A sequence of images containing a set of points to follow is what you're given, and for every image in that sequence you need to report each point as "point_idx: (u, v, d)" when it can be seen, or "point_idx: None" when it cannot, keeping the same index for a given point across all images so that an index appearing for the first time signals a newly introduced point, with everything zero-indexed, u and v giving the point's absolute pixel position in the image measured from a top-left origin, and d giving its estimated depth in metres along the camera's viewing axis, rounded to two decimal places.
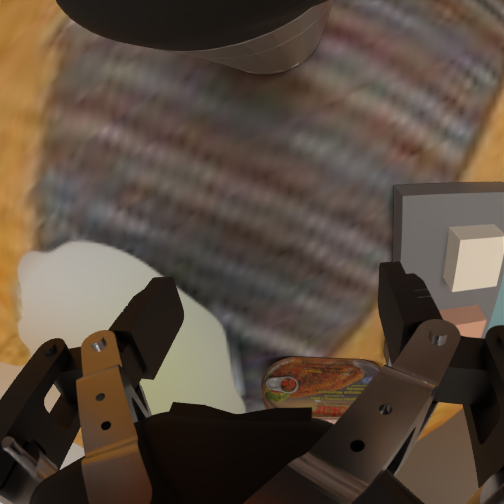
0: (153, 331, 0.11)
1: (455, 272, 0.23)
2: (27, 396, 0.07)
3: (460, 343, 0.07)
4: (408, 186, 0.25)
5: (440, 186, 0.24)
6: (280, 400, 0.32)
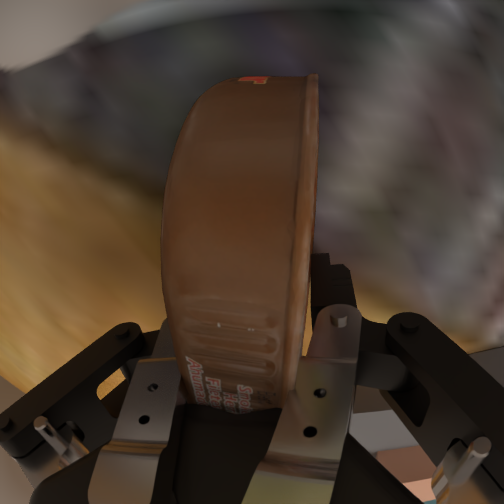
0: None
1: None
2: (78, 381, 0.07)
3: (367, 328, 0.08)
4: None
5: None
6: None
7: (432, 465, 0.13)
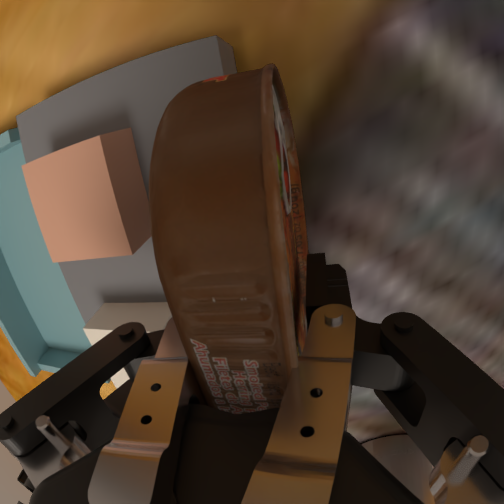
0: None
1: None
2: (81, 380, 0.07)
3: (361, 328, 0.08)
4: None
5: None
6: None
7: (130, 208, 0.13)
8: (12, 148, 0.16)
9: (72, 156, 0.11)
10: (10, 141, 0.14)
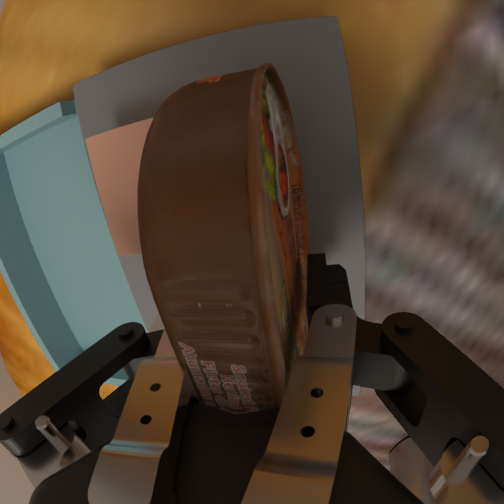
0: None
1: None
2: (81, 380, 0.07)
3: (362, 328, 0.08)
4: None
5: None
6: None
7: None
8: (55, 127, 0.15)
9: None
10: (62, 115, 0.13)
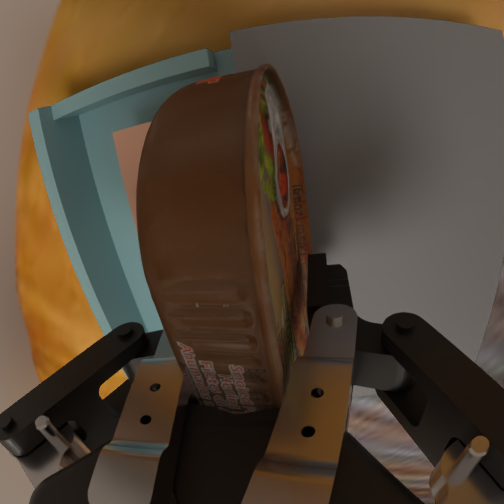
0: None
1: None
2: (80, 380, 0.07)
3: (363, 328, 0.08)
4: None
5: None
6: (258, 168, 0.06)
7: None
8: (170, 85, 0.14)
9: None
10: (208, 64, 0.11)
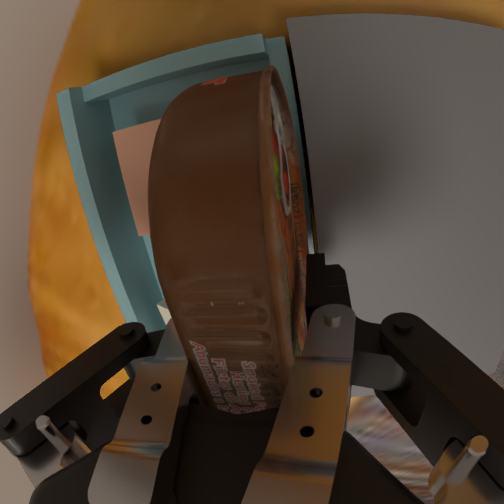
0: None
1: None
2: (82, 380, 0.07)
3: (361, 328, 0.08)
4: None
5: None
6: None
7: None
8: (213, 71, 0.13)
9: None
10: (263, 50, 0.11)
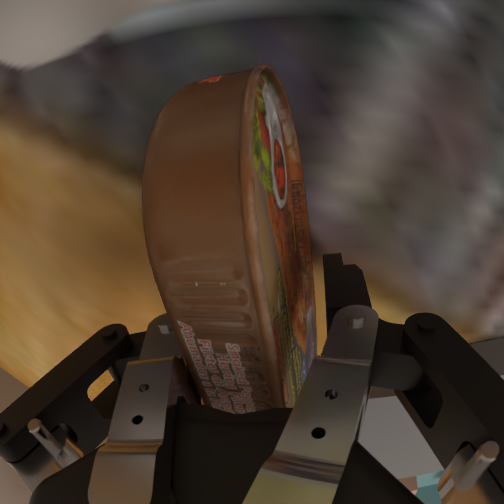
0: None
1: None
2: (69, 382, 0.07)
3: (383, 329, 0.08)
4: None
5: None
6: (255, 159, 0.07)
7: None
8: None
9: None
10: None
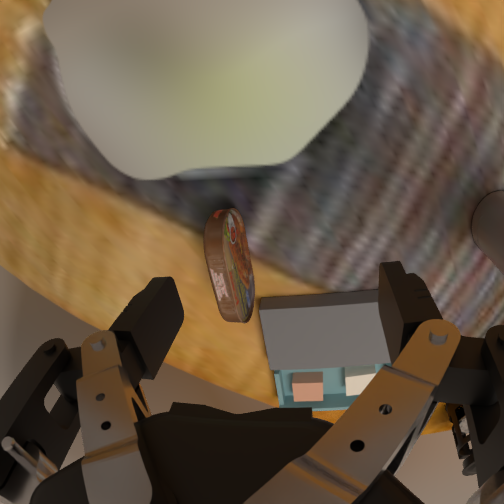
0: (153, 331, 0.11)
1: (357, 375, 0.47)
2: (27, 396, 0.07)
3: (460, 343, 0.07)
4: None
5: None
6: (225, 236, 0.36)
7: (312, 379, 0.49)
8: (282, 375, 0.52)
9: (295, 389, 0.50)
10: (278, 374, 0.49)
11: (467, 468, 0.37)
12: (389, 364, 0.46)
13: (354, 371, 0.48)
